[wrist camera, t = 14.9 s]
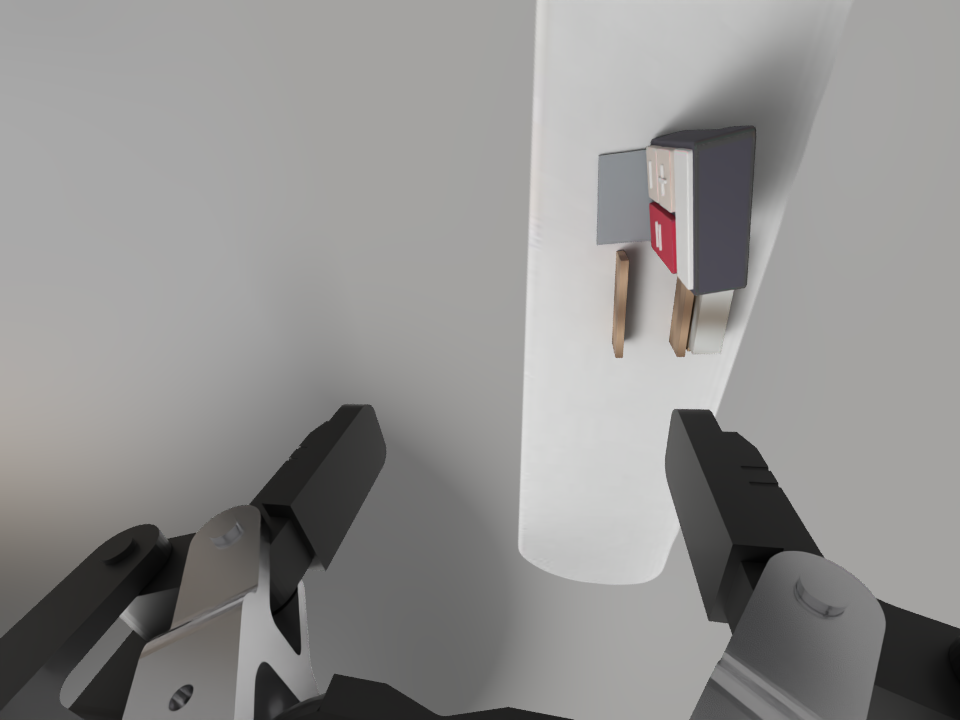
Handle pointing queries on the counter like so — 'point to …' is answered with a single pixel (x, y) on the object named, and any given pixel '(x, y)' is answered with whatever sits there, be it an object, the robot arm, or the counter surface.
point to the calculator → (703, 205)
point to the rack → (679, 317)
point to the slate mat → (623, 198)
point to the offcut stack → (708, 322)
